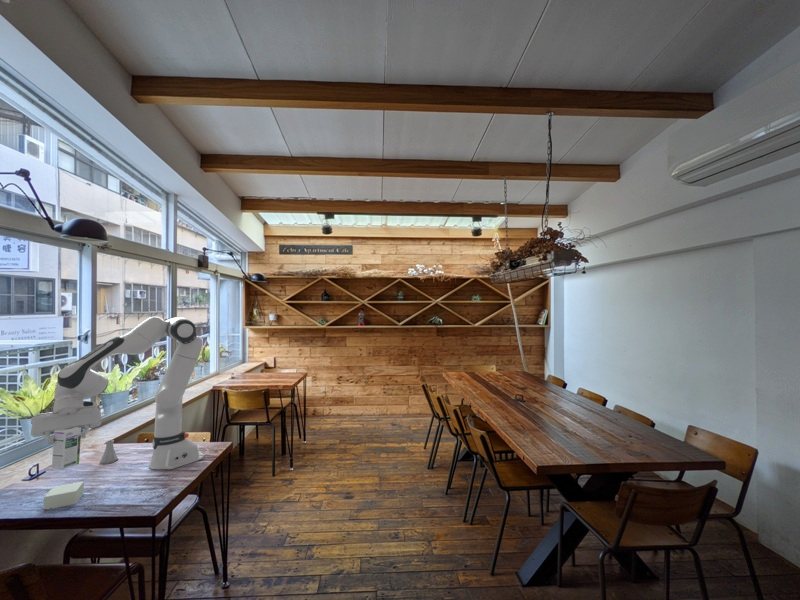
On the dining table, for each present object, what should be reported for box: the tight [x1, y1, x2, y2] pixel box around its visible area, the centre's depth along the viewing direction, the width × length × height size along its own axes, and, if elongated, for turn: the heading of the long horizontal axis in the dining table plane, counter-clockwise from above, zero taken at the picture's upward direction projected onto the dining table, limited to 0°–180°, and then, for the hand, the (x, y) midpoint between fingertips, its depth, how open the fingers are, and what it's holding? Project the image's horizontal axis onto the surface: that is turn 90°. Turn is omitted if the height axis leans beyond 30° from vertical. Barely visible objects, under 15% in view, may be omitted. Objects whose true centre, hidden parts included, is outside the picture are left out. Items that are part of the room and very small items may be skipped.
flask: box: [99, 439, 119, 465], centre depth 170 cm, size 7×7×10 cm
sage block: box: [43, 480, 85, 511], centre depth 133 cm, size 9×9×5 cm
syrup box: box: [51, 426, 82, 470], centre depth 134 cm, size 6×6×14 cm
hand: (67, 440), depth 134 cm, fingers closed on syrup box, 8 cm apart
